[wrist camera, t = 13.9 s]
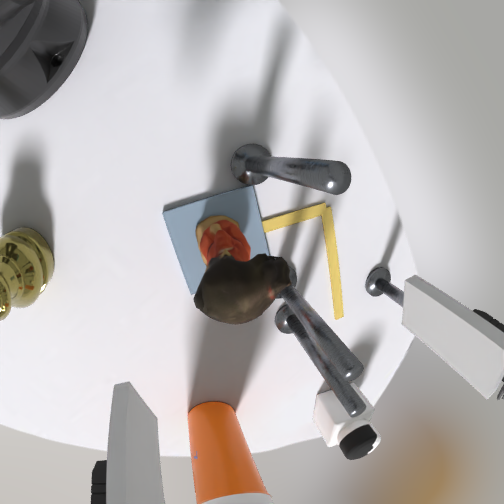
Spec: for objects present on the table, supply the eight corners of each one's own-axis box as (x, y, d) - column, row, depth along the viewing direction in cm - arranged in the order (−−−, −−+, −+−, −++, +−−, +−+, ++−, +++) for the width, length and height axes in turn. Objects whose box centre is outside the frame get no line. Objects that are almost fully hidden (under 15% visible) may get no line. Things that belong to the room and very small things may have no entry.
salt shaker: (44, 218, 23) (-6, 248, 14) (64, 284, 26) (29, 335, 17) (-4, 234, 22) (-54, 266, 13) (17, 294, 25) (-22, 342, 15)
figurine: (216, 199, 27) (246, 231, 16) (259, 233, 29) (310, 283, 18) (176, 250, 28) (179, 314, 17) (220, 281, 30) (248, 352, 19)
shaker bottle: (226, 388, 36) (268, 519, 17) (249, 419, 39) (291, 528, 21) (169, 409, 35) (186, 537, 17) (199, 438, 38) (224, 546, 20)
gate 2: (272, 309, 33) (336, 409, 19) (387, 263, 36) (477, 318, 21) (278, 335, 35) (337, 432, 20) (388, 288, 37) (469, 347, 23)
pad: (162, 211, 27) (162, 213, 26) (251, 185, 28) (252, 185, 27) (190, 292, 30) (191, 294, 29) (270, 265, 31) (272, 267, 31)
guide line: (259, 221, 29) (259, 222, 29) (328, 201, 31) (330, 201, 30) (286, 338, 35) (287, 339, 35) (342, 315, 37) (343, 316, 36)
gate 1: (226, 149, 26) (289, 143, 12) (265, 140, 27) (363, 130, 12) (265, 300, 33) (329, 401, 18) (297, 289, 33) (376, 377, 19)
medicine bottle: (311, 419, 43) (340, 469, 32) (316, 393, 41) (350, 448, 30) (346, 407, 45) (379, 452, 34) (354, 381, 43) (392, 429, 32)
